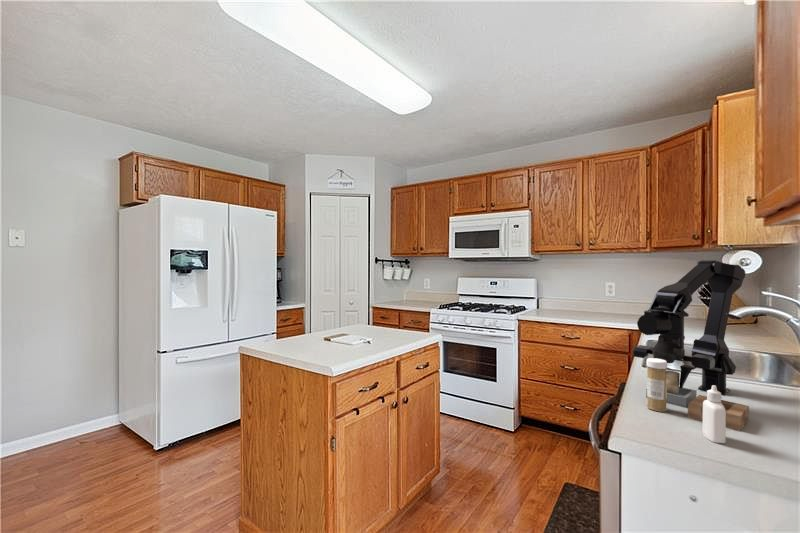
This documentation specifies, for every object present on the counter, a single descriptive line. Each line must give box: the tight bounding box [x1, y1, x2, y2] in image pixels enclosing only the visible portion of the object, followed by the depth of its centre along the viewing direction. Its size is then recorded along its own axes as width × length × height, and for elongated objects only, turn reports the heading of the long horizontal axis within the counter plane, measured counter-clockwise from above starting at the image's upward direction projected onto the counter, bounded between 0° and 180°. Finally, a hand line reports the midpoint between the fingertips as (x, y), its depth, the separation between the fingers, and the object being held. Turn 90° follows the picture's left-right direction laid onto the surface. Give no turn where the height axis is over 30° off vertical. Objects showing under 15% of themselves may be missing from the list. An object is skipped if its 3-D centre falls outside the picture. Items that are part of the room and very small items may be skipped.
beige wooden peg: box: [666, 370, 681, 395], centre depth 108 cm, size 3×3×7 cm
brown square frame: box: [687, 394, 750, 432], centre depth 95 cm, size 10×10×4 cm
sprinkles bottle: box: [646, 358, 668, 413], centre depth 101 cm, size 5×5×14 cm
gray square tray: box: [645, 386, 698, 408], centre depth 109 cm, size 10×10×3 cm
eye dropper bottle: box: [702, 385, 727, 444], centre depth 85 cm, size 4×6×12 cm
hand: (671, 385), depth 109 cm, fingers open, 4 cm apart
